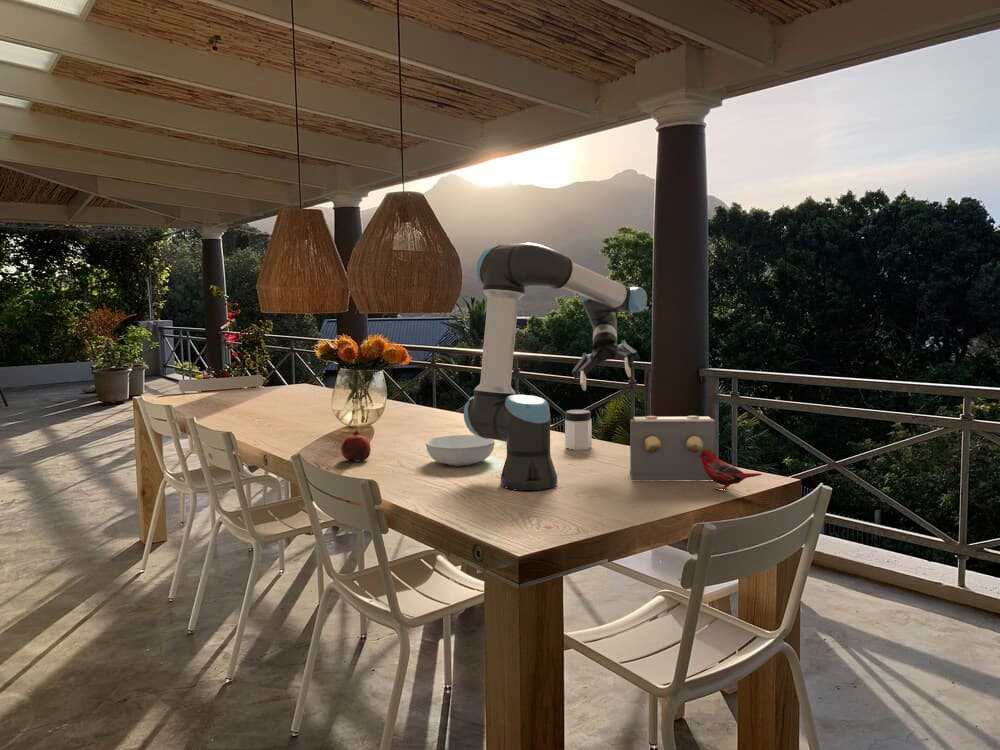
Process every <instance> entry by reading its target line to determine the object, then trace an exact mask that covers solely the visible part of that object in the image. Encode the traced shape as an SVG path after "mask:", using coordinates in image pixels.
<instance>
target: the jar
mask: <svg viewBox="0 0 1000 750" xmlns="http://www.w3.org/2000/svg"><path fill="white" fill-rule="evenodd" d="M591 413H592V412H591V411H590V410H588V409H587V410H586V409H570V410H566V411H565V419H564V447H565V448H564V449H567V448H569V449H568V450H571V449H573V451H587V450H589V449H591V448H592V447H591V446H593V443H592V442H593V441H592V440H593V439H592V435H593V434H592V432H593V431H592V428H593V427H592V426H593V425H592V423H593V421H592V418H591V416H592V414H591Z"/></svg>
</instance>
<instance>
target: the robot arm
mask: <svg viewBox="0 0 1000 750" xmlns="http://www.w3.org/2000/svg"><path fill="white" fill-rule="evenodd" d="M476 277H477V278H478V279H479V280H478V281H479V282H480V284H481V285H482V292H483V294H485V295H484V296H486V298H487V303H486V311H485V315H486V316H485V326H484V336H483V347H482V359H481V369H480V382H479V384H478V385H477V386H476V387H475V388H474V389H473V396H471V397H470V398H469V399H468V400H467V402H466V403H465V405H464V408H463V420H464V423H465V426H466V428H467V429H468V430H469V432H470V433H472V435H476V436H480V437H482V438H485V439H494V441H500V442H506V458H505V460H504V464H503V468H502V470H501V474H500V485H501V486H502V485H503V486H504V487H503V486H502V487H503V488H505V487H507V488H510V489H509V490H511V489H516V490H515V491H518V490H538V491H541V490H540V489H545V490H548V489H547V488H549V489H552V488H555V487H556V486H557V485H558V474H557V472H556V469H555V466H554V462H553V460H552V457H551V411H550V405H549V402H548V401H547V400H546V399H544V398H542V397H541V396H540V397H539V396H537V395H531V394H530V395H528V394H527V395H526V394H516V391H515V390H514V388H513V387H512V376H513V375H512V374H513V365H514V364H513V363H514V356H515V355H514V353H515V339H516V331H517V321H518V320H517V318H518V307H519V300H521V299H522V298H523V297H524V296H525V292H526V291H525V290H526V287H535V286H536V287H547V288H548V287H549V288H552V289H554V290H559V289H563V290H567V291H569V292H572V293H574V294H576V295H578V296H579V298H580V299H579V300H580V303H581V304H582V306H583V308H584V311H585V313H586V315H587V318H588V320H589V322H590V325H591V327H592V330H593V331H592V351H591V353H588V354H587V352H583V353H582V356H581V358H580V359H579V361H578V362H577V364H576V365H575V366H574V368H573V369H572V371H571V374H572V376H573V378H574V379H576V380H577V381H578V383H579V385H580V386H581V389H582V390H583V391H584V392H585V391H587V375H588V373H590V372H591V371H592V369H594V368H595V367H596V366H598V365H599V364H601V363H602V362H605V361H607V360H612V359H615V360H620V361H624V370H625V373H626V375H627V377H628V378H631V376H632V374H631V373H632V371H631V369H633V368H634V361H638V360H640V356H639V354H638V351H637V350H635V349H634V348H633V347H632V346H630V345H628V343H627V342H626V340H625V339H624V340H621V343H620V344H618V320H617V315H616V313H631V314H633V313H640V312H643V311H644V310H645V309H646V306H647V301H648V295H647V292H646V290H645V289H644V288H643V287H637V286H632V287H631V286H628V285H624V284H622V283H619V282H618V281H615V280H614V279H611V278H609V277H606V276H605V275H602V274H599V273H597V272H595V271H593V270H590V269H588V268H587V267H584V266H582V265H580V264H577V263H576V262H573V260H572V259H571V257H570V256H568V255H566V254H564V253H562V252H560V251H557V250H555V249H553V248H550V247H547V246H544V245H542V244H538V243H534V242H522V243H509V244H497V245H494V246H490V247H488V248H486V249H485V250H484V251H482V253H481V254H480V255H479V257H478V260H477V263H476ZM556 484H557V485H556ZM555 485H556V486H555ZM551 487H552V488H551ZM507 488H506V489H507Z"/></svg>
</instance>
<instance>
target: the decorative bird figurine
mask: <svg viewBox="0 0 1000 750" xmlns="http://www.w3.org/2000/svg"><path fill="white" fill-rule="evenodd" d="M698 457H700V458H701V460H702V463H703V466H704V469H705V471H706V473H707V475H708V476H709V477H710V478H711V479H712V480H713V481H712V482H714V483H716V484H719V485H722V486H721V487H719V486H717V487H716V486H714V487H715V488H714V489H716V488H718V489H723V490H724V489H725V490H727V491H728V490H729V488H728V487H730V486H731V485H736V484H740V483H741V482H742V481H743V480H745V479H747V478H753V477H758V476H761V475H762V473H758V472H757V473H753V472H743V471H741V470H740V469H739V468H737V467H735V466H734V465H732V464H730V463H727V462H726V461H723V460H722V459H720V458H719V457H718V456H717V455H716V454H714V453H713V452H711V451H710V450H708V449H705V450H703V451H702V453H701V454H700V455H699V456H698ZM723 490H722V491H723Z"/></svg>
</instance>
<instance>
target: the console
mask: <svg viewBox="0 0 1000 750" xmlns="http://www.w3.org/2000/svg"><path fill="white" fill-rule="evenodd" d="M629 421H630V422H629V424H630V426H629V429H630V430H629V431H630V432H629V433H630V434H629V437H630V438H629V440H630V442H629V443H630V445H629V447H630V448H629V449H630V450H629V452H630V453H629V455H630V456H629V457H630V458H629V459H630V463H629V464H630V468H629V477H630V476H631V477H630V480H712V479H711V478H710V477H709V476H708V475H707V473H706V471H705V469H704V466H703V463H702V460H701V458H700V457H698V456H699V455H700V454H701V453H702V451H703V450H705V449H708V450H710V451H711V452H713V453H714V454H715V453H716V451H715V445H716V444H715V441H716V440H715V439H716V437H715V436H716V421H715V419H714V418H711V417H710V416H709V415H707V416H699V415H687V416H656V415H646V416H633V419H629ZM650 435H654V436H656V437H658V438H659V440H660V442H661V447H660V449H659V450H658V451H657V452H654V453H651V452H648V451H647V450H646V449H645V447H644V440H645V438H646V437H647V436H650ZM691 435H696V436H698V437H700V438H701V439H702V441H703V448H702V449H701V450H700V451H699V452H696V453H693V452H690V451H689V450H688V449H687V447H686V445H685V442H686V439H687V437H689V436H691ZM715 455H716V454H715Z"/></svg>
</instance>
